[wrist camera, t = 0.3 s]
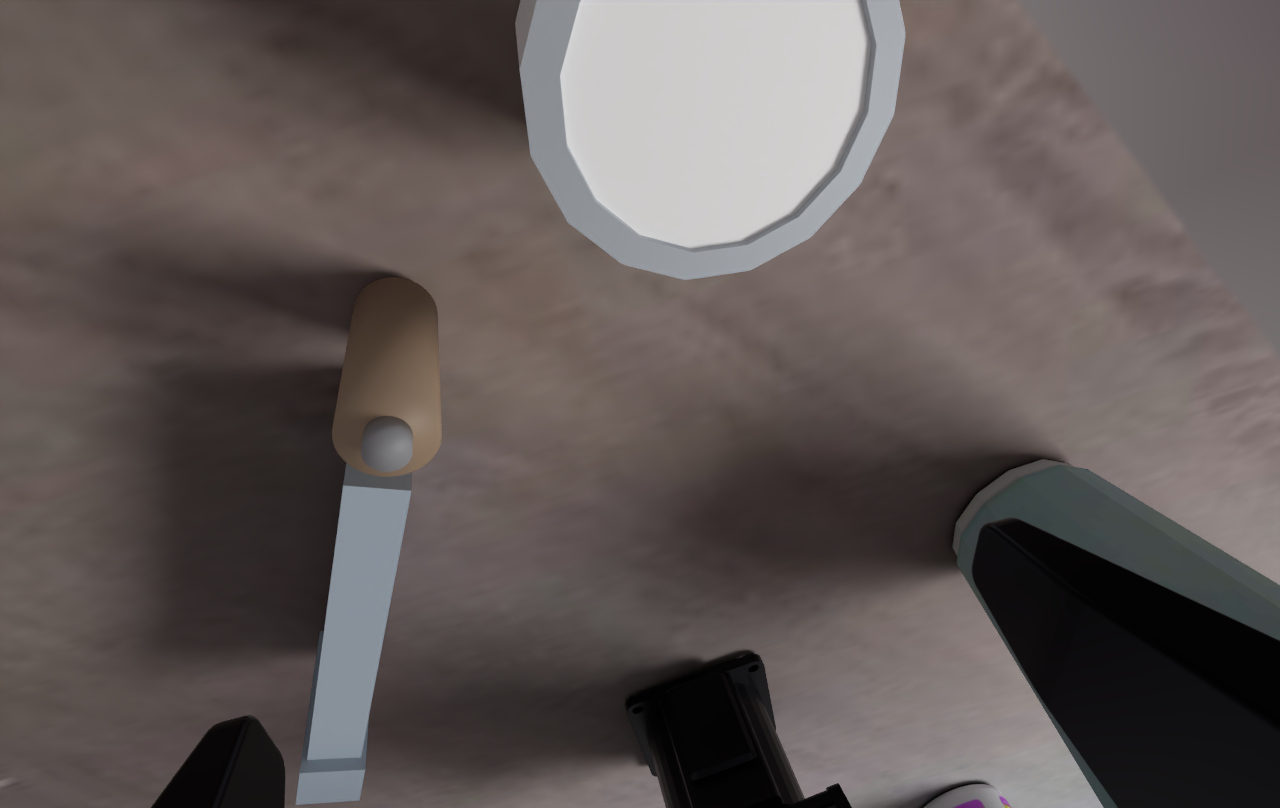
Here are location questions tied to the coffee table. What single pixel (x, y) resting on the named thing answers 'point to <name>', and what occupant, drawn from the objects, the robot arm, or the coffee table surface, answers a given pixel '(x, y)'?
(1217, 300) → the coffee table surface
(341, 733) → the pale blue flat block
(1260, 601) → the disposable coffee cup
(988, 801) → the supplement bottle
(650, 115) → the white cup
